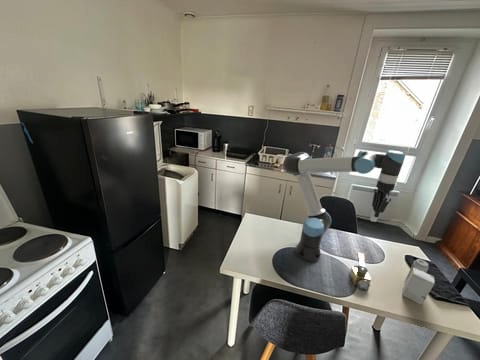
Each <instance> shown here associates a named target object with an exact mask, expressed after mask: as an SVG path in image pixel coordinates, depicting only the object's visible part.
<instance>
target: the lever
mask: <svg viewBox="0 0 480 360" xmlns="http://www.w3.org/2000/svg"><path fill="white" fill-rule="evenodd" d="M357 261H358V266H359V267H358V269H357V271H358V272H359V273H360V274H362V275H366V274H367V272H368V269H367V267H366V265H365V254H364V253H361V252H358V253H357Z"/></svg>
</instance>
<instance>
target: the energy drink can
mask: <svg viewBox="0 0 480 360" xmlns="http://www.w3.org/2000/svg"><path fill="white" fill-rule="evenodd" d="M413 268H416V269H418V270H420V271H423V272H425V273H427V272H428V270H429V263H428V262H427V261H426V260H424V259H420V258H417V259H416V260H414V261H413V263H412V265H411V267H410V269H409V272H408V274H407V276H406V278H405V282H406V281H407V279H408V277H409V275H410V274H411V272H412V270H413Z"/></svg>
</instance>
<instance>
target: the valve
mask: <svg viewBox="0 0 480 360" xmlns="http://www.w3.org/2000/svg"><path fill="white" fill-rule="evenodd" d="M358 267H359V265H353V266H352V267H351V269H350V272H349V273H350V274H349V276H350V279H351V280H352V283H353V285H354V286H357V287H358V288H360V289H359V290H361V291H362V292H367V291H369V289H370V287H371V281H372V278H371V276H370V274H369V273H368V271H367V274H366V275H362V274H360V273H359V272H358V271H357V269H358Z"/></svg>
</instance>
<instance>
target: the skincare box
mask: <svg viewBox="0 0 480 360" xmlns="http://www.w3.org/2000/svg"><path fill="white" fill-rule="evenodd" d="M434 285H435V276H433V275H432V274H428V273H427V272H426V273H425V272H423V271H420V270H418V269H416V268H413V270H412V272H411V274H410V275H409V277H408V279H407V281H406V280H405V283H404V285H403V287H402V292H401V296H402V297H405V298H407V299H409V300H411V301H414V302H415V303H417V304H419V305H421V306H422V305H423V304H424V302H425V301H426V298H427V297H428V295H429V293H430V292H431V290H432V288H433V287H434Z"/></svg>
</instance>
